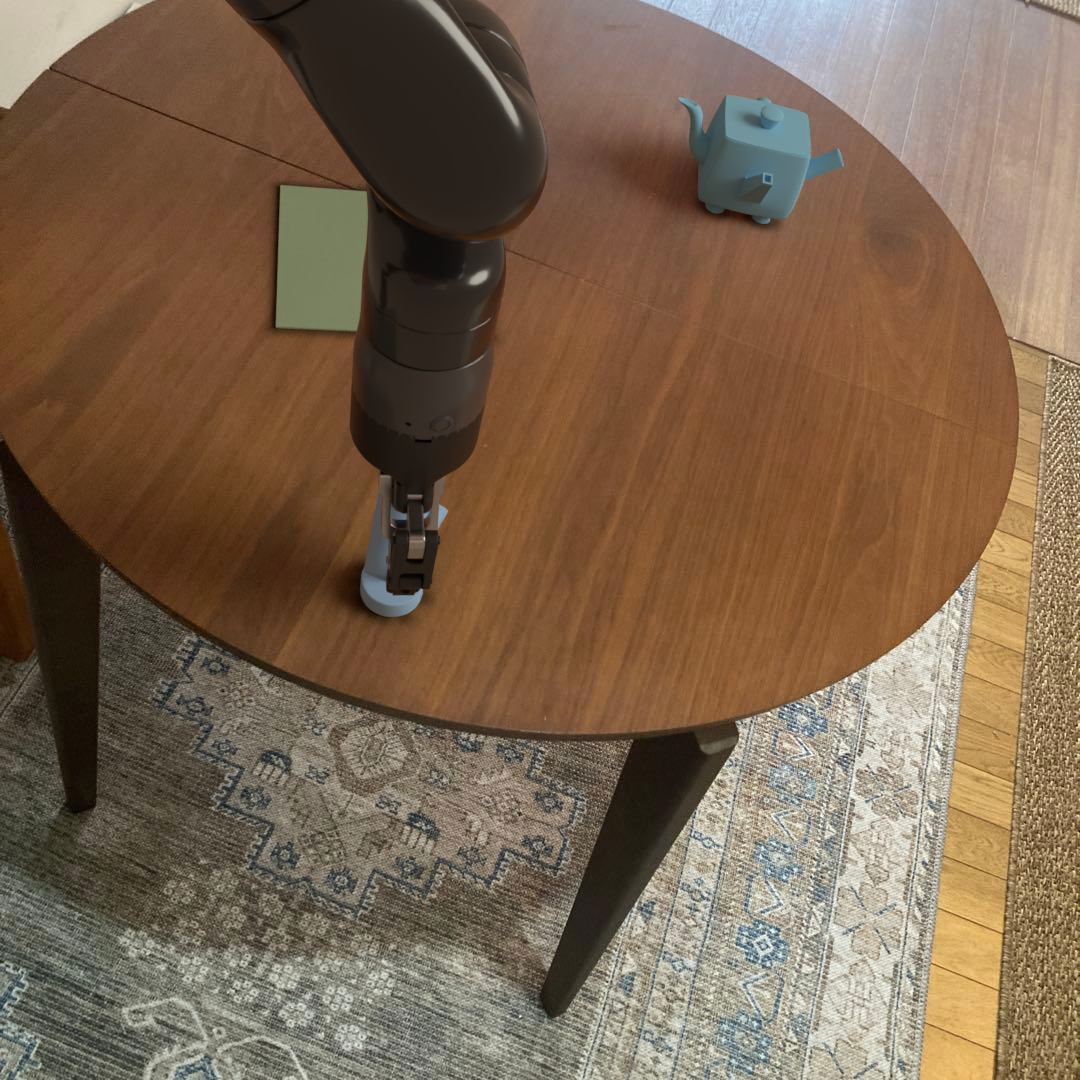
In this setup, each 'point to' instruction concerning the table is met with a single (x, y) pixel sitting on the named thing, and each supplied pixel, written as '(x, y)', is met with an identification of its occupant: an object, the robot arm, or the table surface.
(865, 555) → the table surface
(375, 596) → the spotlight
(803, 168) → the teapot
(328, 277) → the mat
